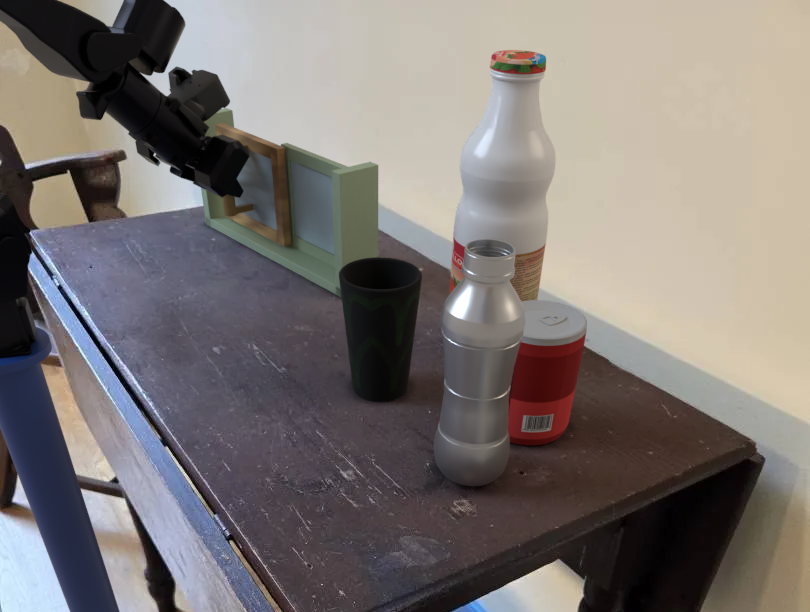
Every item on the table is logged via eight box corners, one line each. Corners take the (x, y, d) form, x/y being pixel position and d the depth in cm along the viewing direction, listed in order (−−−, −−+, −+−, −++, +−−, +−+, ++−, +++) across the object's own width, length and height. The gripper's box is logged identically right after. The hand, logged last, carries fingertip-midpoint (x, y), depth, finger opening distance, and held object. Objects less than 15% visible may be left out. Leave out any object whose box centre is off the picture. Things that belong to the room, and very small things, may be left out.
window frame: (205, 224, 112) (189, 113, 103) (238, 216, 115) (226, 107, 106) (343, 299, 95) (340, 174, 85) (378, 287, 98) (378, 164, 88)
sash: (200, 224, 108) (187, 129, 100) (234, 215, 111) (223, 122, 103) (257, 254, 101) (247, 154, 93) (291, 245, 103) (284, 147, 95)
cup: (353, 365, 83) (350, 253, 75) (423, 373, 82) (428, 261, 74) (333, 402, 77) (329, 285, 69) (409, 412, 76) (412, 294, 68)
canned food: (583, 424, 75) (605, 318, 68) (533, 458, 71) (552, 348, 64) (519, 394, 79) (534, 291, 72) (469, 425, 75) (479, 317, 67)
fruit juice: (525, 371, 83) (569, 69, 64) (438, 360, 84) (457, 60, 66) (534, 332, 90) (576, 48, 71) (453, 322, 91) (474, 41, 72)
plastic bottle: (477, 506, 65) (503, 275, 52) (416, 473, 69) (425, 248, 55) (521, 472, 69) (555, 248, 56) (460, 442, 72) (479, 224, 59)
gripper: (224, 61, 83) (313, 154, 96) (139, 34, 93) (229, 122, 106) (171, 153, 84) (265, 233, 97) (93, 117, 94) (188, 194, 107)
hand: (237, 192), depth 102 cm, fingers closed on sash, 2 cm apart
